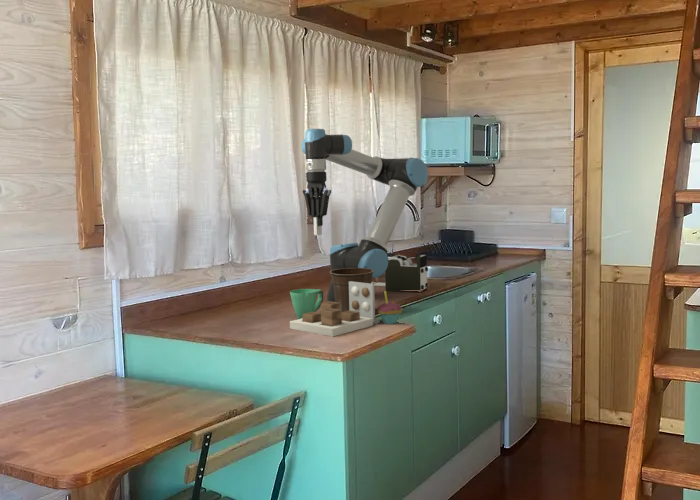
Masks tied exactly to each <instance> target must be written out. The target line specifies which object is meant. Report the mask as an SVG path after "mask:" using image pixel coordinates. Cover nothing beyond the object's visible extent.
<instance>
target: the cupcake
mask: <svg viewBox="0 0 700 500" xmlns="http://www.w3.org/2000/svg"><path fill="white" fill-rule="evenodd" d="M383 293H384V299H385V302H383V303H381V304H380V305H379V306H378V307H377V313H378V314H379V315H380V318H381V319H382V323H383V324H386V325H393V324H397V323H398V319H399V316H400V314H402V313H403V309H402V306H401V304H398V303H397V302H391V301H388V295H387V291H386V288H385V289H384V292H383Z"/></svg>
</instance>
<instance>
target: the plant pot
mask: <svg viewBox="0 0 700 500" xmlns="http://www.w3.org/2000/svg"><path fill="white" fill-rule="evenodd" d="M373 272H374V270H372V269H368V268H342V269H335V270H332V271H331V270H330V271H329V274H330V278H331V277H332V283H333V286H334V294H335V302H337V303H340V310H342V312H345V311H349V282H350V281H352V282H361V283H369V284H371V283H372V282H373V278H372V273H373Z"/></svg>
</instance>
